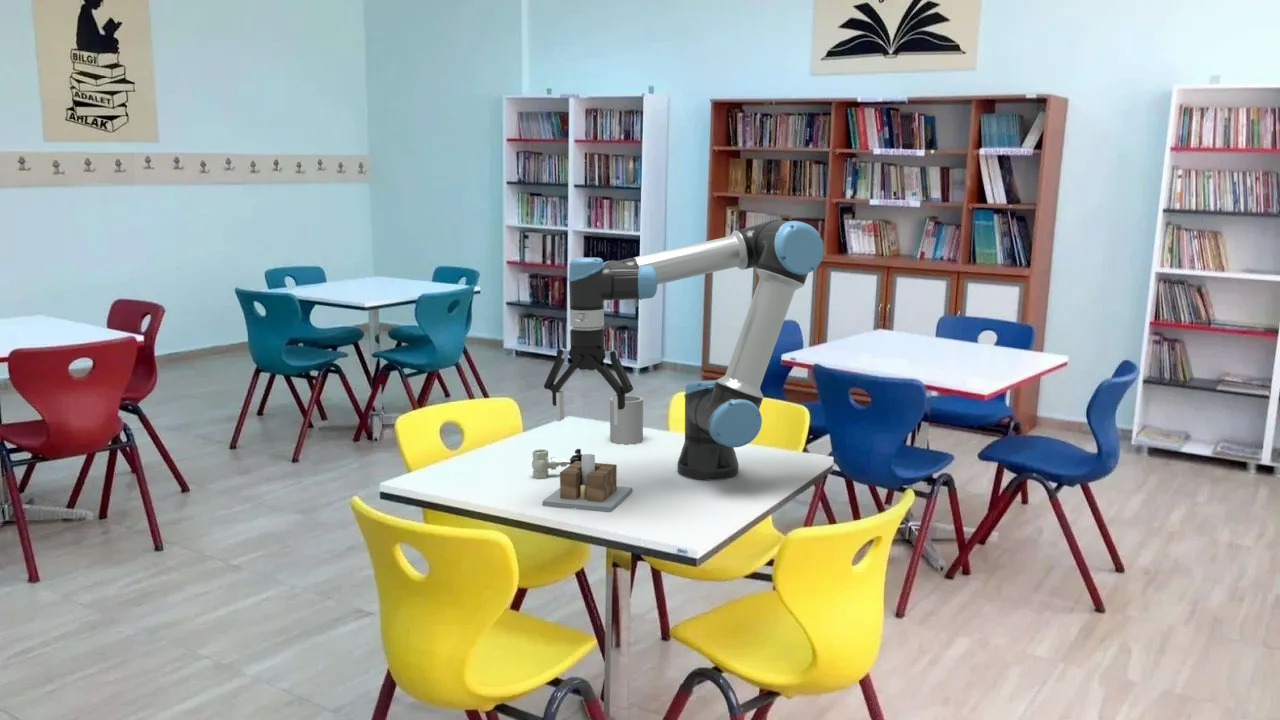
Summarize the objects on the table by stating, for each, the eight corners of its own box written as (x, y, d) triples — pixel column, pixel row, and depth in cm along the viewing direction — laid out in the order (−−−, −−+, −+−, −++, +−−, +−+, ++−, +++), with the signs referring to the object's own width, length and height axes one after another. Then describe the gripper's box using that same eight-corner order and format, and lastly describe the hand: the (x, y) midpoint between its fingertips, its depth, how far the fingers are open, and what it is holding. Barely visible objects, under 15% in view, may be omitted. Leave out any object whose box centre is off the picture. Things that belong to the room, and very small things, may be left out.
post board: (632, 491, 240) (632, 449, 238) (610, 512, 225) (610, 467, 223) (567, 485, 244) (567, 444, 243) (542, 505, 229) (541, 461, 227)
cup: (607, 444, 284) (607, 401, 283) (613, 436, 293) (613, 395, 291) (640, 445, 283) (640, 402, 281) (645, 437, 292) (645, 396, 290)
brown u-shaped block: (575, 486, 240) (575, 461, 239) (616, 489, 238) (616, 464, 237) (560, 498, 231) (560, 472, 230) (602, 502, 228) (602, 476, 227)
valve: (534, 481, 248) (583, 478, 251) (533, 454, 247) (582, 452, 250) (530, 474, 255) (578, 471, 258) (530, 448, 254) (578, 445, 256)
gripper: (528, 328, 228) (530, 422, 232) (636, 332, 221) (637, 428, 224) (541, 324, 235) (543, 415, 239) (646, 327, 228) (646, 421, 232)
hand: (588, 421), depth 232 cm, fingers open, 13 cm apart
